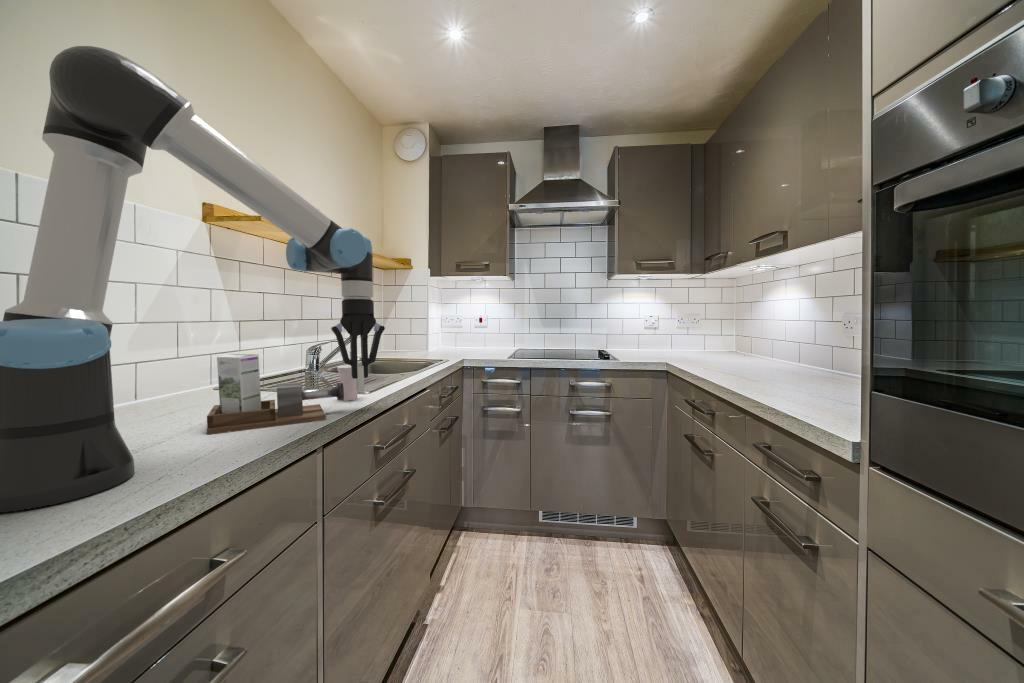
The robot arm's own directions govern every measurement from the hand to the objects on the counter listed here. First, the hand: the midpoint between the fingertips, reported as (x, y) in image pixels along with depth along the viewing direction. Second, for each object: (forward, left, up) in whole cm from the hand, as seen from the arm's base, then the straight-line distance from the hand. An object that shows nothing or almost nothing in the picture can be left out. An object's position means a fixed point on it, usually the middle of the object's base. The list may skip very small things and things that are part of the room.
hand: (360, 390), depth 102 cm
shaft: (0, +11, -2) cm, 11 cm away
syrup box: (0, +25, -4) cm, 26 cm away
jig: (0, +20, -5) cm, 20 cm away
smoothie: (+14, 0, -5) cm, 15 cm away
